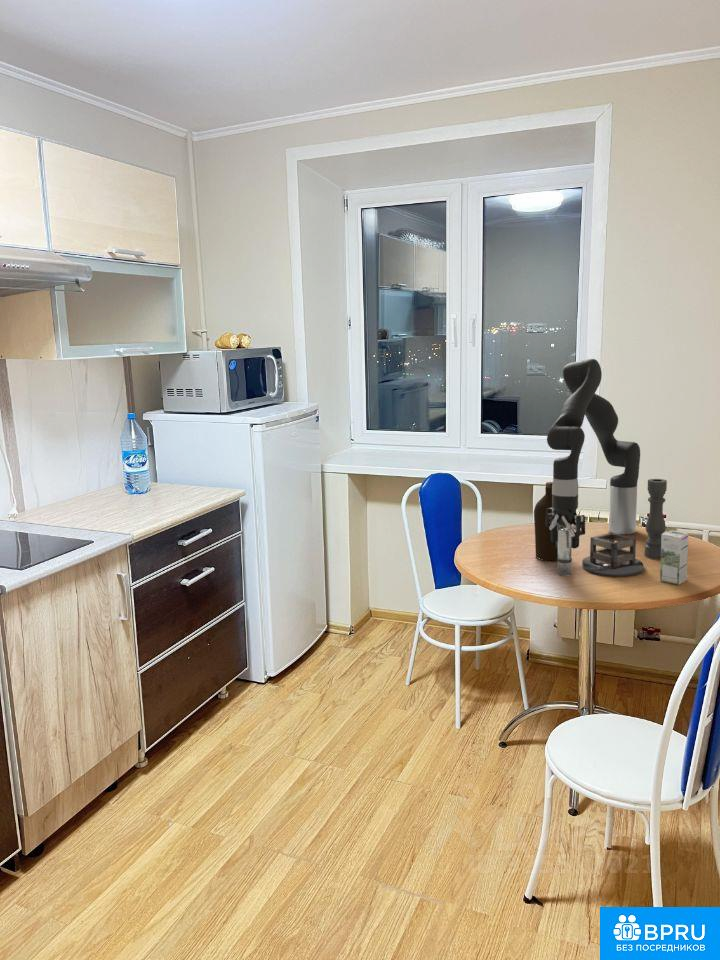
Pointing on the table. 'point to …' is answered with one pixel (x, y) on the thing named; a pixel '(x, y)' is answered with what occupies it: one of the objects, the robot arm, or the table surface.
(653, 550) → the candle holder
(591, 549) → the collar stand
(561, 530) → the silver metal bottle
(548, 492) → the olive oil
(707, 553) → the table surface
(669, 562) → the syrup box
